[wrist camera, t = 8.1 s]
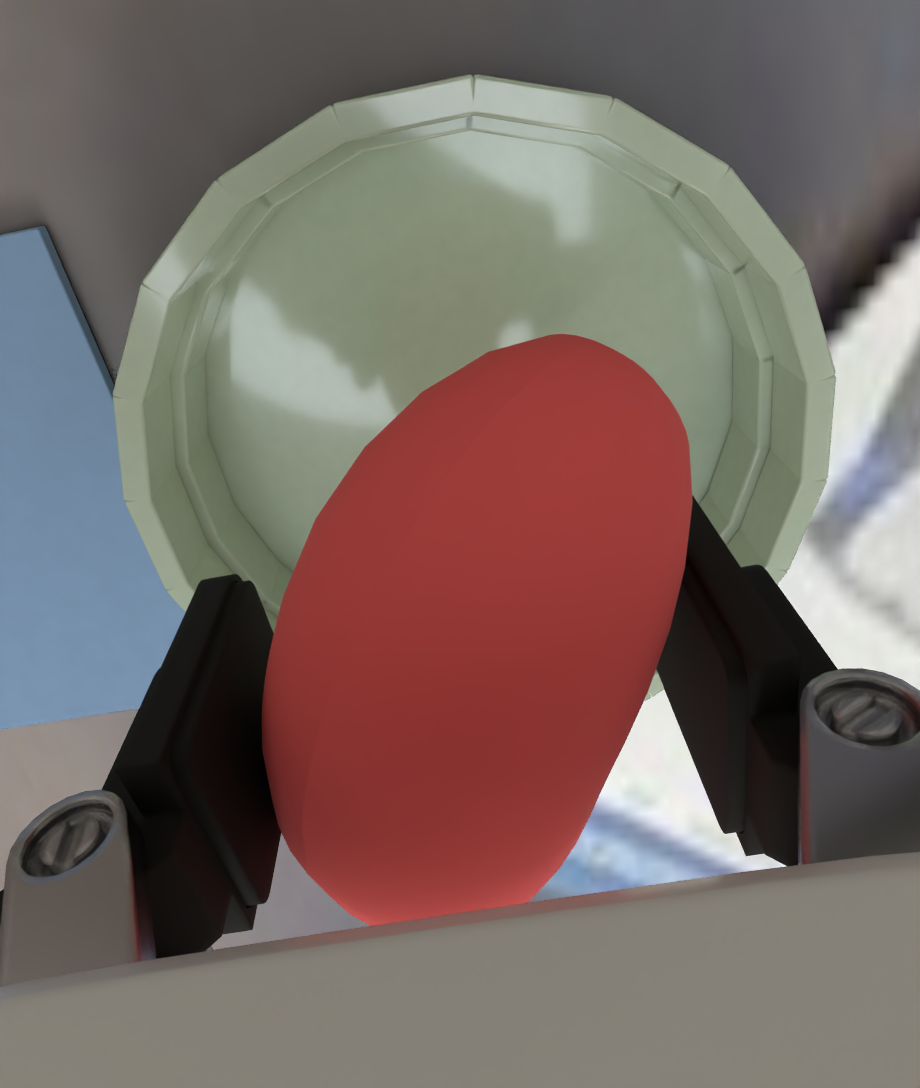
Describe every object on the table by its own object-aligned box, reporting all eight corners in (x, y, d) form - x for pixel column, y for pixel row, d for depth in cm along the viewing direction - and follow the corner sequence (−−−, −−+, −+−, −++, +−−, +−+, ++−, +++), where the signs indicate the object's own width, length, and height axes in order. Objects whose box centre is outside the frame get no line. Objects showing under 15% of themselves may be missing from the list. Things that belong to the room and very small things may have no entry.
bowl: (70, 161, 16) (-29, 179, 13) (773, 13, 15) (869, -11, 12) (278, 681, 24) (252, 778, 21) (755, 606, 23) (810, 696, 20)
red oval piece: (187, 631, 14) (220, 1013, 11) (329, 218, 8) (506, 858, 5) (432, 624, 17) (515, 931, 14) (693, 309, 10) (964, 758, 7)
